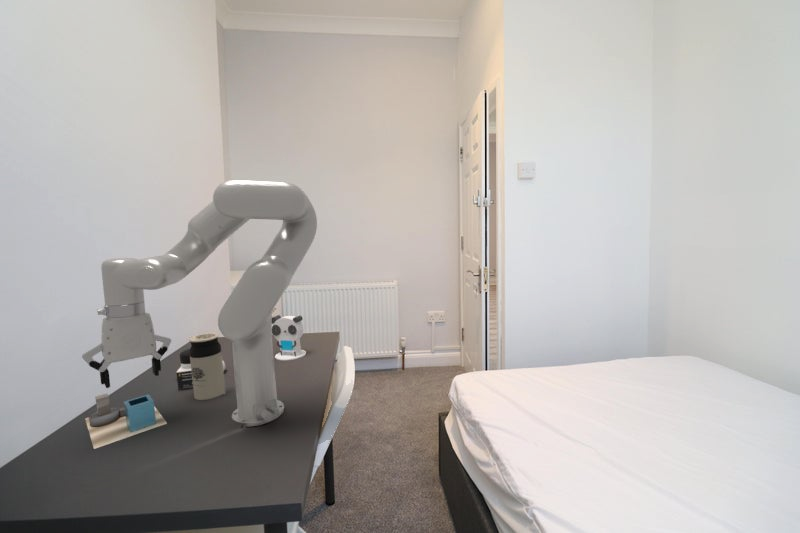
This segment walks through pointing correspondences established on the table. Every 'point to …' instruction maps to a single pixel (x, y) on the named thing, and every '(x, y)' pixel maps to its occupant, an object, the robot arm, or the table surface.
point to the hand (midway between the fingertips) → (132, 380)
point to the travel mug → (206, 366)
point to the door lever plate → (112, 423)
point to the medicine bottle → (185, 372)
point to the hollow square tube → (139, 413)
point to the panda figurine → (288, 336)
